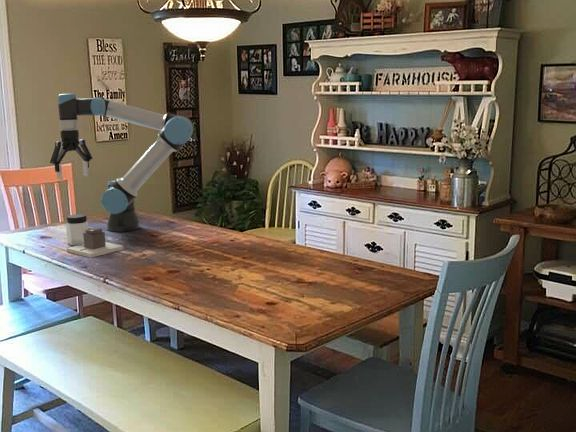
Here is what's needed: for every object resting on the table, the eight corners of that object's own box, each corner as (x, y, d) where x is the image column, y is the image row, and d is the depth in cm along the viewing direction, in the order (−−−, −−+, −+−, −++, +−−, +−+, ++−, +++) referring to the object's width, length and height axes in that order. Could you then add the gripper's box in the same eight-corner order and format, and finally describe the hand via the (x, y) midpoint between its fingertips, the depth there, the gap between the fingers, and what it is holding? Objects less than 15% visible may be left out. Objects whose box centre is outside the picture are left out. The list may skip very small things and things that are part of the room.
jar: (91, 243, 282) (89, 216, 279) (73, 246, 277) (71, 218, 274) (83, 239, 289) (81, 213, 286) (65, 242, 284) (63, 215, 281)
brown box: (106, 246, 270) (105, 227, 268) (93, 249, 265) (91, 230, 263) (96, 244, 274) (95, 226, 272) (83, 247, 269) (81, 228, 267)
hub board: (99, 243, 280) (98, 228, 279) (123, 249, 271) (122, 232, 269) (66, 251, 268) (65, 235, 266) (90, 257, 258) (89, 240, 257)
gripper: (87, 127, 298) (91, 173, 302) (38, 131, 279) (43, 180, 283) (98, 128, 294) (101, 174, 298) (49, 131, 274) (53, 181, 278)
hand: (73, 177), depth 290 cm, fingers open, 13 cm apart
